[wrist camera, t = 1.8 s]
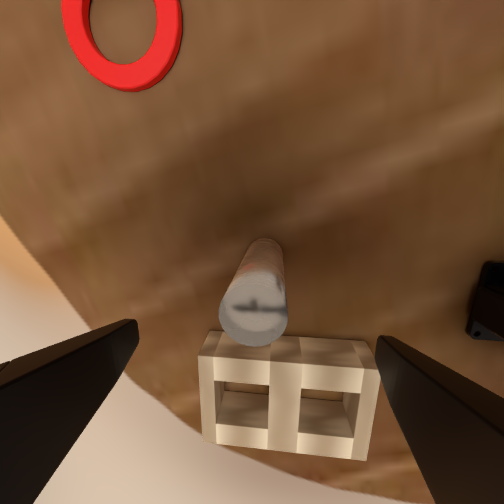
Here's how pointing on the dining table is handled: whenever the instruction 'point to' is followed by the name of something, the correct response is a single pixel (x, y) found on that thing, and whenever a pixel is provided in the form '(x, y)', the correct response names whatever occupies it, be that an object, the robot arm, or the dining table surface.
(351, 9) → the dining table surface
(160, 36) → the tow hook
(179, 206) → the dining table surface
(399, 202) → the dining table surface
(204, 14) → the dining table surface
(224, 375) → the pin block
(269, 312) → the metal pin
